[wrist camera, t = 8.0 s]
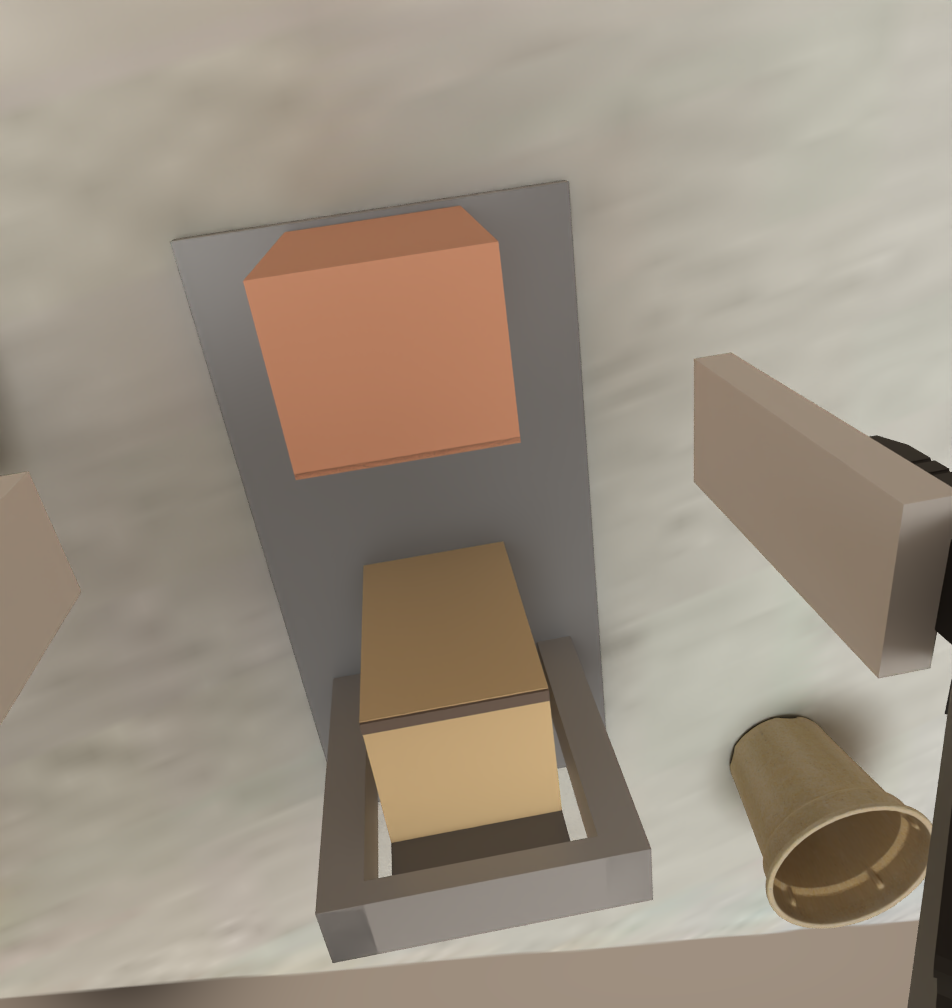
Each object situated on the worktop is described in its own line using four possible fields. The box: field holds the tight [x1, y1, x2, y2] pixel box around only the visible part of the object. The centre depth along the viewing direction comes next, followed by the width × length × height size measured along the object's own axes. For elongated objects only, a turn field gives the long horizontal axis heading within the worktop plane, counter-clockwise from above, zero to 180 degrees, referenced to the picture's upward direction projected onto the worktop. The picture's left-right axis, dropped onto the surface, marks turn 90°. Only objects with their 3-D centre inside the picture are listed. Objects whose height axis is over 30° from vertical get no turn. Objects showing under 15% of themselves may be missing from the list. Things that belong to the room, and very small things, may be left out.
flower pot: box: [730, 717, 932, 928], centre depth 44 cm, size 9×9×9 cm
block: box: [243, 206, 521, 480], centre depth 27 cm, size 7×6×10 cm
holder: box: [170, 180, 653, 963], centre depth 32 cm, size 16×32×14 cm, turn 8°
